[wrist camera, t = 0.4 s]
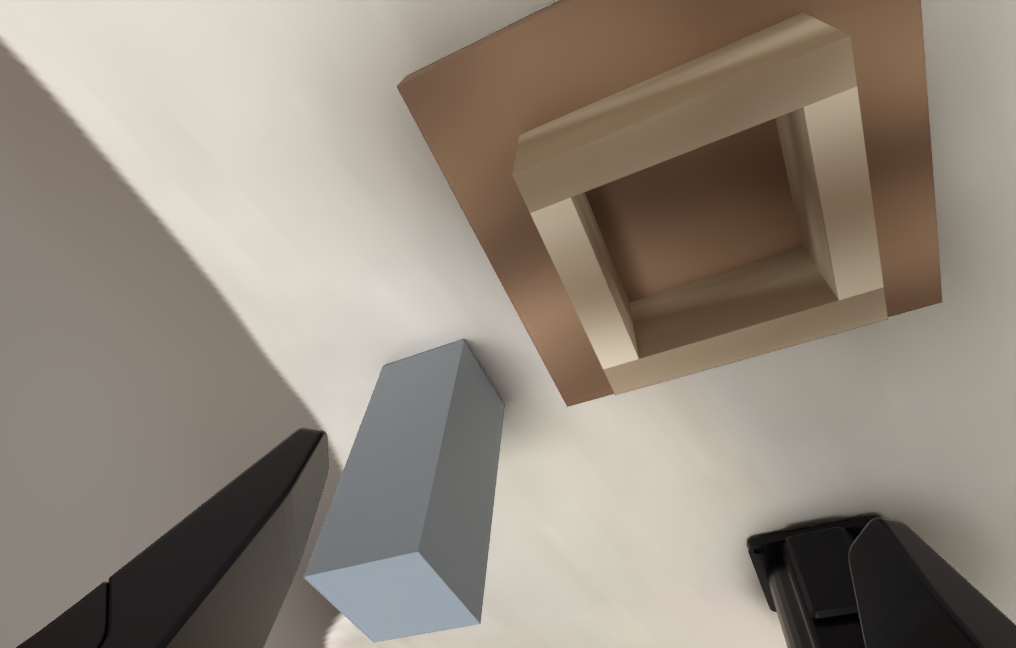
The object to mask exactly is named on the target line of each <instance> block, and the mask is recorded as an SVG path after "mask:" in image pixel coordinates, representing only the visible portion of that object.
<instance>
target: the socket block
mask: <svg viewBox="0 0 1016 648" xmlns="http://www.w3.org/2000/svg"><path fill="white" fill-rule="evenodd" d="M397 88H398V90H399V92H400V93H401V95H402V97H403V99H404V101H405V103H406V105H407V107H408V108H409V110H410V112H411V114H412V116H413V118H414V120H415V122H416V123H417V125H418V127H419V129H420V131H421V133H422V135H423V137H424V139H425V140H426V142H427V144H428V146H429V148H430V150H431V152H432V154H433V155H434V157H435V159H436V161H437V163H438V165H439V167H440V169H441V170H442V172H443V174H444V176H445V178H446V180H447V182H448V184H449V185H450V187H451V189H452V191H453V193H454V195H455V197H456V199H457V201H458V202H459V204H460V206H461V208H462V210H463V212H464V214H465V216H466V217H467V219H468V221H469V223H470V225H471V227H472V229H473V231H474V232H475V234H476V236H477V238H478V240H479V242H480V244H481V246H482V247H483V249H484V251H485V253H486V255H487V257H488V259H489V261H490V262H491V264H492V266H493V268H494V270H495V272H496V274H497V276H498V278H499V279H500V281H501V283H502V285H503V287H504V289H505V291H506V293H507V294H508V296H509V298H510V300H511V302H512V304H513V306H514V308H515V309H516V311H517V313H518V315H519V317H520V319H521V321H522V323H523V324H524V326H525V328H526V330H527V332H528V334H529V336H530V338H531V339H532V341H533V343H534V345H535V347H536V349H537V351H538V353H539V355H540V356H541V358H542V360H543V362H544V364H545V366H546V368H547V370H548V371H549V373H550V375H551V377H552V379H553V381H554V383H555V385H556V386H557V388H558V390H559V392H560V394H561V396H562V398H563V400H564V401H565V403H566V405H567V407H568V406H572V405H575V404H579V403H582V402H586V401H590V400H593V399H597V398H600V397H604V396H608V395H611V394H615V395H618V394H621V393H625V392H629V391H632V390H636V389H639V388H643V387H647V386H650V385H654V384H657V383H661V382H664V381H668V380H672V379H675V378H679V377H682V376H686V375H690V374H693V373H697V372H700V371H704V370H708V369H711V368H715V367H718V366H722V365H726V364H729V363H733V362H736V361H740V360H743V359H747V358H751V357H754V356H758V355H761V354H765V353H769V352H772V351H776V350H779V349H783V348H787V347H790V346H794V345H797V344H801V343H805V342H808V341H812V340H815V339H819V338H823V337H826V336H830V335H833V334H837V333H840V332H844V331H848V330H851V329H855V328H858V327H862V326H866V325H869V324H873V323H876V322H880V321H884V320H887V319H888V317H890V316H894V315H897V314H901V313H905V312H908V311H912V310H915V309H919V308H923V307H926V306H930V305H933V304H937V303H940V302H942V292H941V278H940V264H939V250H938V236H937V222H936V208H935V195H934V181H933V167H932V153H931V139H930V125H929V111H928V97H927V83H926V69H925V55H924V41H923V27H922V14H921V0H560V1H558V2H556V3H554V4H552V5H550V6H548V7H546V8H544V9H542V10H540V11H538V12H536V13H534V14H532V15H529V16H527V17H525V18H523V19H521V20H519V21H517V22H515V23H513V24H511V25H509V26H507V27H505V28H503V29H501V30H499V31H497V32H495V33H493V34H491V35H489V36H487V37H485V38H483V39H481V40H479V41H477V42H475V43H473V44H471V45H469V46H467V47H465V48H463V49H461V50H459V51H457V52H455V53H453V54H451V55H449V56H447V57H444V58H442V59H440V60H438V61H436V62H434V63H432V64H430V65H428V66H426V67H424V68H422V69H420V70H418V71H416V72H414V73H412V74H410V75H408V76H406V77H405V78H404V79H403V80H402V81H401V82H400V84H399V85H398V86H397Z"/></svg>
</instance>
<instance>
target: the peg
mask: <svg viewBox="0 0 1016 648" xmlns="http://www.w3.org/2000/svg"><path fill="white" fill-rule="evenodd" d="M504 406H505V405H504V403H503V402H502V400H501V398H500V397H499V395H498V394H497V392H496V390H495V389H494V387H493V385H492V384H491V382H490V380H489V379H488V377H487V375H486V374H485V372H484V370H483V369H482V367H481V366H480V364H479V362H478V361H477V359H476V357H475V356H474V354H473V352H472V351H471V349H470V347H469V346H468V344H467V342H466V341H465V339H462V340H459V341H456V342H453V343H450V344H447V345H444V346H441V347H438V348H435V349H432V350H429V351H426V352H423V353H420V354H417V355H414V356H411V357H408V358H405V359H402V360H399V361H396V362H393V363H390V364H387V365H384V366H383V367H382V370H381V373H380V375H379V378H378V381H377V383H376V386H375V389H374V391H373V394H372V396H371V399H370V402H369V404H368V407H367V410H366V412H365V415H364V418H363V420H362V423H361V426H360V428H359V431H358V433H357V436H356V439H355V441H354V444H353V447H352V449H351V452H350V455H349V457H348V460H347V463H346V465H345V468H344V471H343V473H342V476H341V478H340V481H339V484H338V486H337V489H336V492H335V495H334V497H333V500H332V502H331V505H330V508H329V511H328V513H327V515H326V518H325V521H324V523H323V526H322V529H321V532H320V534H319V537H318V540H317V542H316V545H315V547H314V550H313V553H312V555H311V558H310V560H309V563H308V566H307V569H306V571H305V574H304V578H305V579H306V580H307V581H308V582H309V583H310V584H311V585H312V586H313V587H314V588H316V589H317V590H318V591H319V592H320V593H321V594H322V595H323V596H324V597H325V598H326V599H327V600H328V601H330V602H331V603H332V604H333V605H334V606H335V607H336V608H337V609H338V610H339V611H340V612H341V613H342V614H343V615H345V616H346V617H347V618H348V619H349V620H350V621H351V622H352V623H353V624H354V625H355V626H356V627H357V628H358V629H360V630H361V631H362V632H363V633H364V634H365V635H366V636H367V637H368V638H369V639H370V640H371V641H372V642H379V641H385V640H391V639H396V638H402V637H408V636H414V635H419V634H425V633H431V632H437V631H442V630H448V629H454V628H460V627H465V626H471V625H477V624H480V622H481V613H482V604H483V595H484V586H485V577H486V568H487V559H488V550H489V541H490V532H491V523H492V514H493V505H494V496H495V487H496V478H497V469H498V460H499V451H500V442H501V433H502V424H503V415H504Z"/></svg>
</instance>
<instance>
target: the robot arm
mask: <svg viewBox="0 0 1016 648" xmlns="http://www.w3.org/2000/svg"><path fill="white" fill-rule="evenodd" d="M328 469H329V458H328V439H327V434H326V432H325V431H323V430H319V429H313V428H306V427H302V428H299V429H298V430H296V431H295V432H293V433H292V434H291V435H290V436H288V437H287V438H286V439H285V440H283V441H282V442H281V443H280V444H278V445H277V446H276V447H275V448H273V449H272V450H271V451H269V452H268V453H267V454H266V455H264V456H263V457H262V458H261V459H259V460H258V461H257V462H256V463H254V464H253V465H252V466H250V467H249V468H248V469H247V470H245V471H244V472H243V473H241V474H240V475H239V476H238V477H236V478H235V479H234V480H233V481H231V482H230V483H229V484H228V485H226V486H225V487H224V488H222V489H221V490H220V491H219V492H217V493H216V494H215V495H214V496H212V497H211V498H210V499H208V500H207V501H206V502H205V503H203V504H202V505H201V506H200V507H198V508H197V509H196V510H194V511H193V512H192V513H191V514H190V515H188V516H187V517H186V518H184V519H183V520H182V521H181V522H179V523H178V524H177V525H176V526H174V527H173V528H172V529H171V530H169V531H168V532H167V533H165V534H164V535H163V536H161V537H160V538H159V539H158V540H156V541H155V542H154V543H153V544H151V545H150V546H149V547H148V548H146V549H145V550H144V551H143V552H141V553H140V554H139V555H137V556H136V557H135V558H134V559H132V560H131V561H130V562H128V563H127V564H126V565H125V566H123V567H122V568H121V569H120V570H118V571H117V572H116V573H115V574H113V575H112V576H111V577H110V578H109V583H108V582H103V583H101V584H100V585H99V586H98V587H96V588H95V589H94V590H93V591H91V592H90V593H89V594H88V595H86V596H85V597H84V598H83V599H81V600H80V601H79V602H77V603H76V604H75V605H73V606H72V607H71V608H69V609H68V610H67V611H65V612H64V613H63V614H61V615H60V616H59V617H57V618H56V619H55V620H54V621H52V622H51V623H49V624H48V625H47V626H46V627H44V628H43V629H42V630H40V631H39V632H38V633H36V634H35V635H34V636H32V637H30V638H29V639H28V640H26V641H25V642H23V643H22V644H20V645H19V646H17V647H16V648H263V647H264V645H265V643H266V640H267V638H268V636H269V633H270V631H271V629H272V627H273V624H274V622H275V620H276V618H277V616H278V613H279V611H280V609H281V607H282V604H283V602H284V600H285V597H286V595H287V593H288V591H289V588H290V586H291V584H292V582H293V579H294V577H295V574H296V572H297V569H298V567H299V564H300V561H301V558H302V555H303V552H304V549H305V546H306V543H307V540H308V537H309V533H310V530H311V527H312V524H313V520H314V517H315V514H316V511H317V508H318V504H319V501H320V498H321V495H322V492H323V488H324V485H325V482H326V479H327V475H328ZM747 548H748V552H749V555H750V557H751V560H752V563H753V565H754V568H755V570H756V573H757V576H758V578H759V581H760V584H761V586H762V589H763V591H764V594H765V597H766V599H767V602H768V605H769V607H770V609H771V610H772V611H774V612H777V614H778V617H779V620H780V624H781V627H782V630H783V634H784V637H785V640H786V644H787V647H788V648H1016V625H1015V624H1014V623H1013V622H1012V621H1011V620H1010V619H1009V618H1007V617H1006V616H1005V615H1004V614H1003V613H1002V612H1001V611H1000V610H999V609H998V608H996V607H995V606H994V605H993V604H992V603H991V602H990V601H989V600H988V599H987V598H986V597H984V596H983V595H982V594H981V593H980V592H979V591H978V590H977V589H976V588H975V587H973V586H972V585H971V584H970V583H969V582H968V581H967V580H966V579H965V578H964V577H963V576H961V575H960V574H959V573H958V572H957V571H956V570H955V569H954V568H953V567H952V566H950V565H949V564H948V563H947V562H946V561H945V560H944V559H943V558H942V557H941V556H940V555H938V554H937V553H936V552H935V551H934V550H933V549H932V548H931V547H930V546H929V545H927V544H926V543H925V542H924V541H923V540H922V539H921V538H920V537H919V536H918V535H917V534H915V533H914V532H913V531H912V530H911V529H910V528H909V527H908V526H907V525H905V524H904V523H902V522H900V521H897V520H891V519H885V518H882V517H880V516H869V517H863V518H858V519H853V520H848V521H843V522H837V523H832V524H827V525H822V526H816V527H811V528H806V529H801V530H796V531H790V532H785V533H780V534H775V535H769V536H764V537H759V538H754V539H751V540H750V541H748V542H747Z"/></svg>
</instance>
